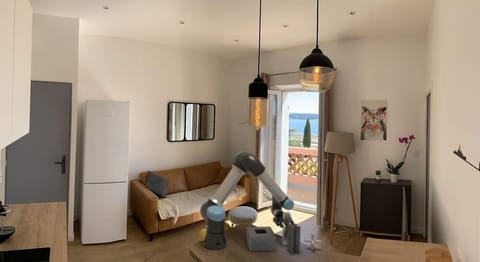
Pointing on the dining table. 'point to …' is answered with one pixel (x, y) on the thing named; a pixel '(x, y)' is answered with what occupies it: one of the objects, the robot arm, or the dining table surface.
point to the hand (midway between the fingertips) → (288, 228)
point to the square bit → (286, 221)
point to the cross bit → (293, 238)
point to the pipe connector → (312, 241)
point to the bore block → (261, 239)
